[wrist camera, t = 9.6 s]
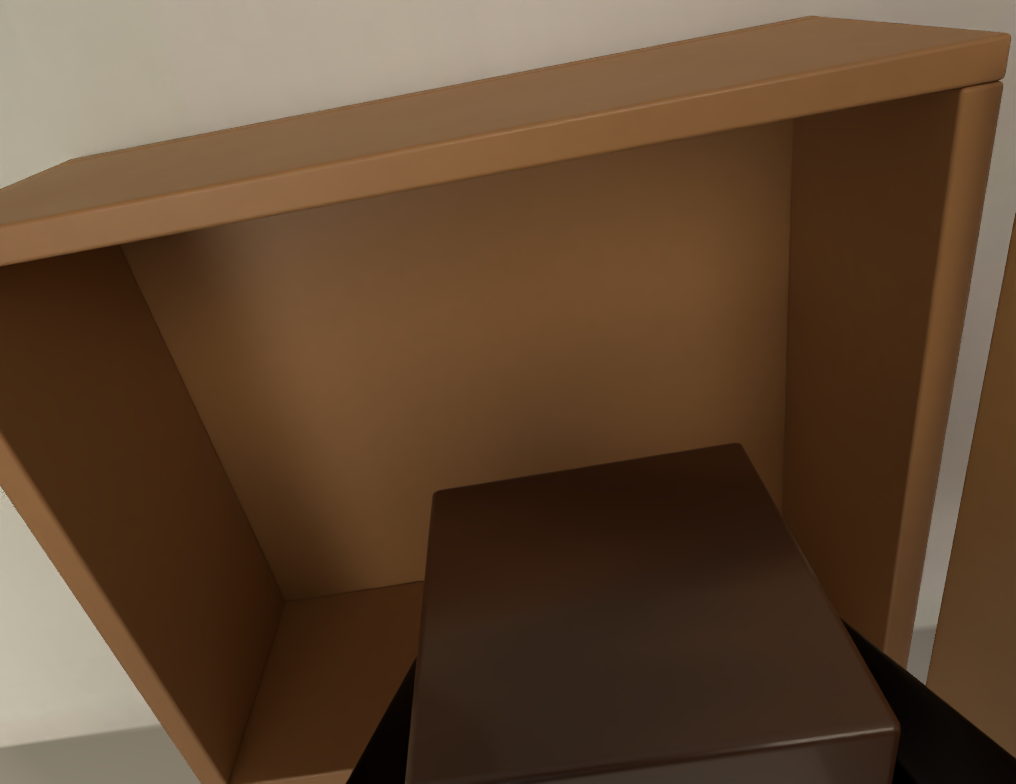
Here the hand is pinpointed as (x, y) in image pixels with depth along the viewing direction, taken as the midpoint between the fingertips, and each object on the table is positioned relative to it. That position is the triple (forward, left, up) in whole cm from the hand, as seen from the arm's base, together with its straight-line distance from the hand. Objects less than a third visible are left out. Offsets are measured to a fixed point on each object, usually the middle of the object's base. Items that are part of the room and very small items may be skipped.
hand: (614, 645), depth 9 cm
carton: (+2, 0, -8) cm, 8 cm away
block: (0, 0, -1) cm, 1 cm away
